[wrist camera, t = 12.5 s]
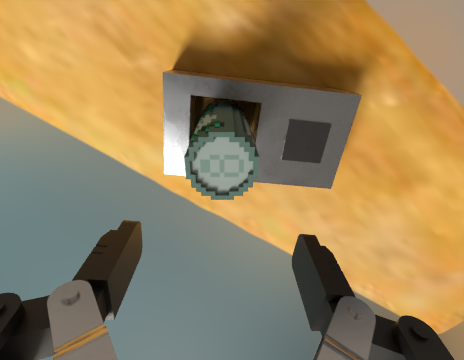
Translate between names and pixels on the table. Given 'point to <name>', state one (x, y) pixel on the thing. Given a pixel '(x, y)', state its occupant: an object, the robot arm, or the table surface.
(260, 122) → the block with square hole
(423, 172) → the table surface
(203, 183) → the can
